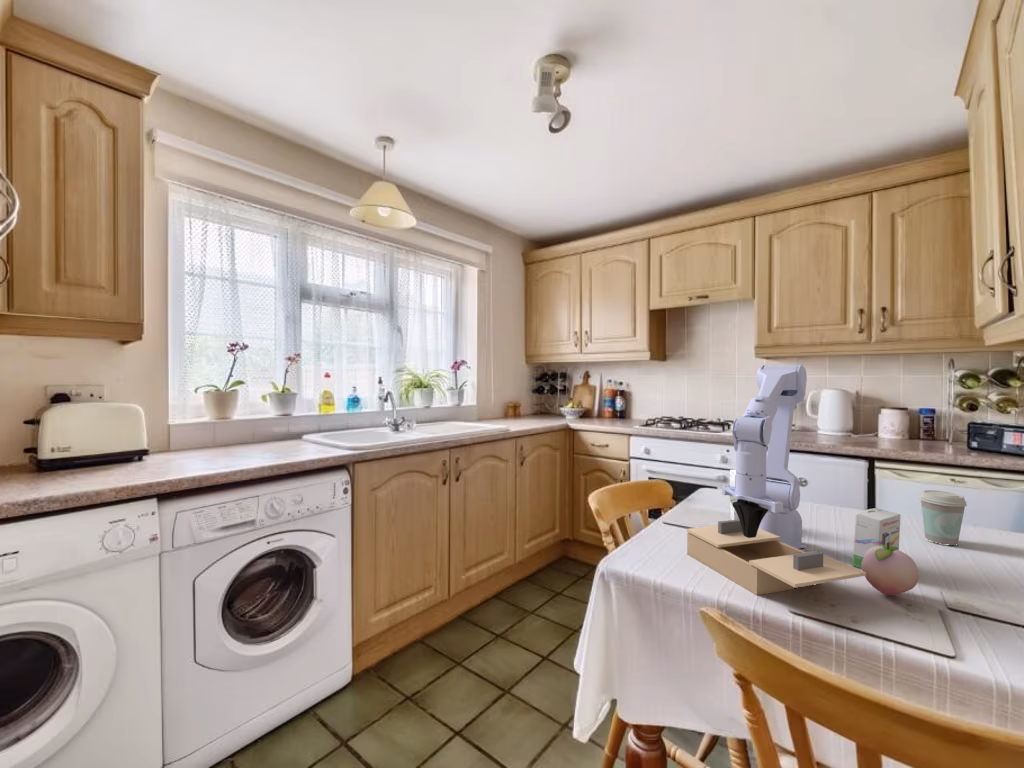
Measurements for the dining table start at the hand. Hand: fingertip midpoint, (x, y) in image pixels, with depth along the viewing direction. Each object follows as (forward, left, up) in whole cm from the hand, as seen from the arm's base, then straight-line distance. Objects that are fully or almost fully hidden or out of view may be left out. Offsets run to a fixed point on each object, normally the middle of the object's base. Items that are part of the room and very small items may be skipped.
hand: (749, 536), depth 97 cm
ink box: (-27, +7, -7) cm, 29 cm away
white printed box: (-21, -24, -7) cm, 33 cm away
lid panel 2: (0, +13, -1) cm, 13 cm away
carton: (0, 0, -7) cm, 7 cm away
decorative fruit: (-16, +17, -7) cm, 24 cm away
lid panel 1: (0, -5, -1) cm, 5 cm away
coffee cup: (-58, +1, -7) cm, 59 cm away
